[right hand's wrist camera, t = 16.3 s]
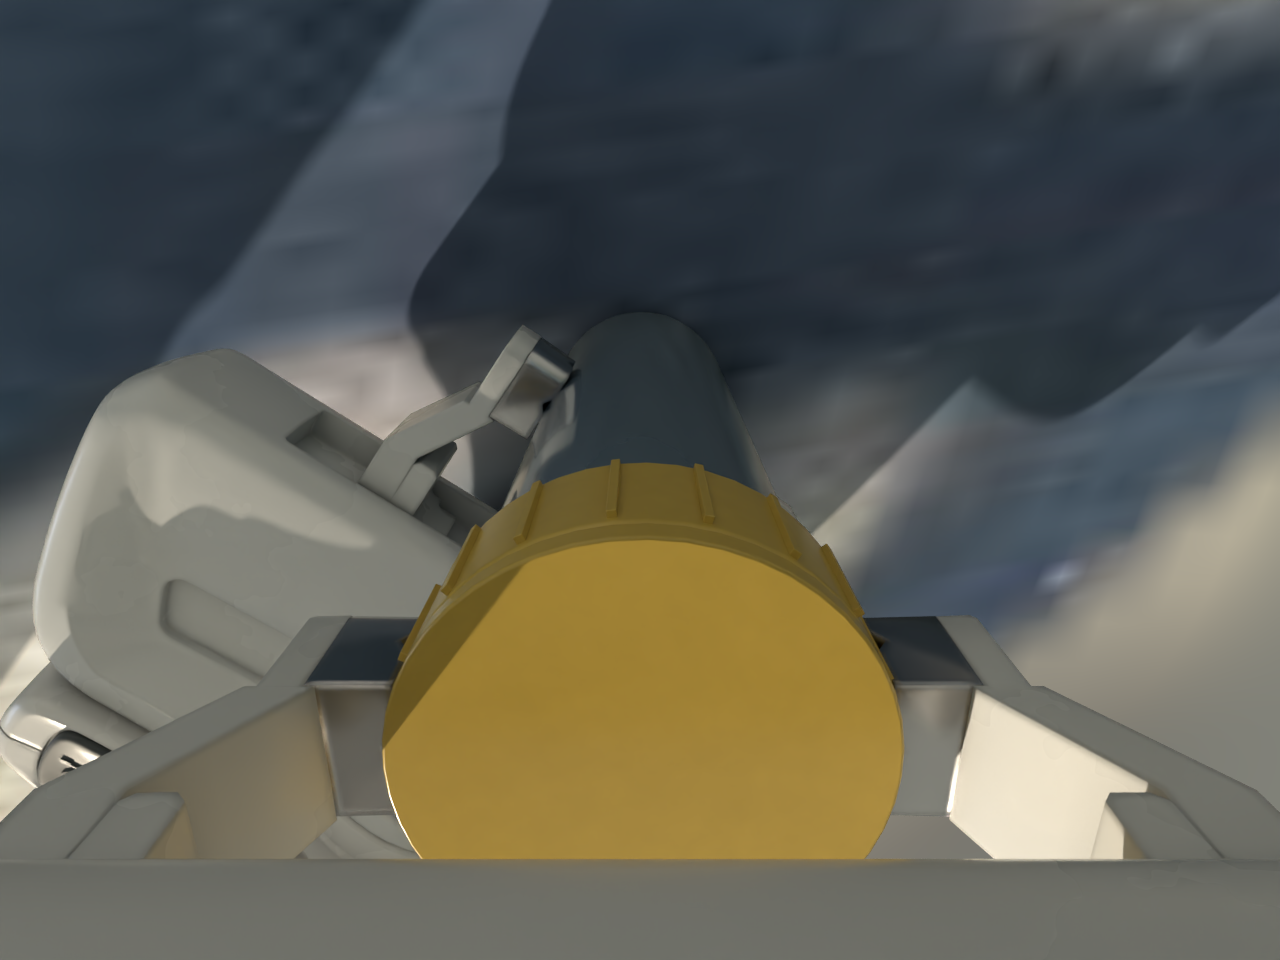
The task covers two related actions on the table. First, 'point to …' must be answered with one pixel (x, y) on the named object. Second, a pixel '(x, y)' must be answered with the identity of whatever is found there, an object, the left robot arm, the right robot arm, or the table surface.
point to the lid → (642, 683)
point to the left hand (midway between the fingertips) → (661, 423)
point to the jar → (641, 408)
